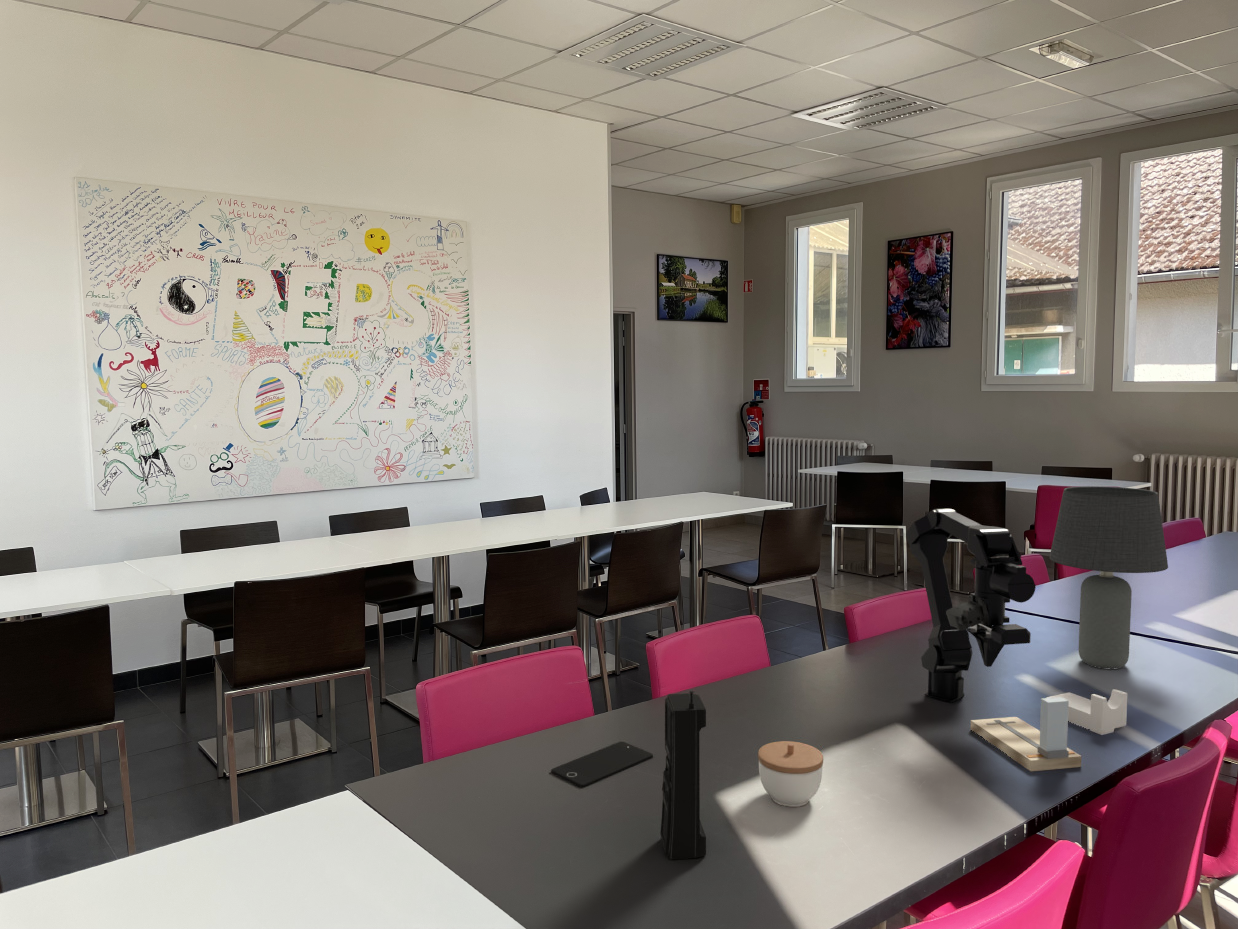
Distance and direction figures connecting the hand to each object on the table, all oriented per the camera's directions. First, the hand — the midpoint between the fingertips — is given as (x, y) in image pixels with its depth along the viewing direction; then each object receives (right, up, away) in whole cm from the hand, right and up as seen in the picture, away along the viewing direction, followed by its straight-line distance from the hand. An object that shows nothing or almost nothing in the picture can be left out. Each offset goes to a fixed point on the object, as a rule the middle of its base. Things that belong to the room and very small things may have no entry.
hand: (987, 666), depth 174 cm
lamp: (+44, -9, +37) cm, 59 cm away
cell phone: (-78, -15, -16) cm, 81 cm away
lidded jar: (-46, -15, -30) cm, 57 cm away
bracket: (+21, -12, +2) cm, 24 cm away
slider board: (+2, -13, -11) cm, 17 cm away
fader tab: (+3, -11, -19) cm, 23 cm away
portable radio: (-65, -17, -44) cm, 81 cm away
